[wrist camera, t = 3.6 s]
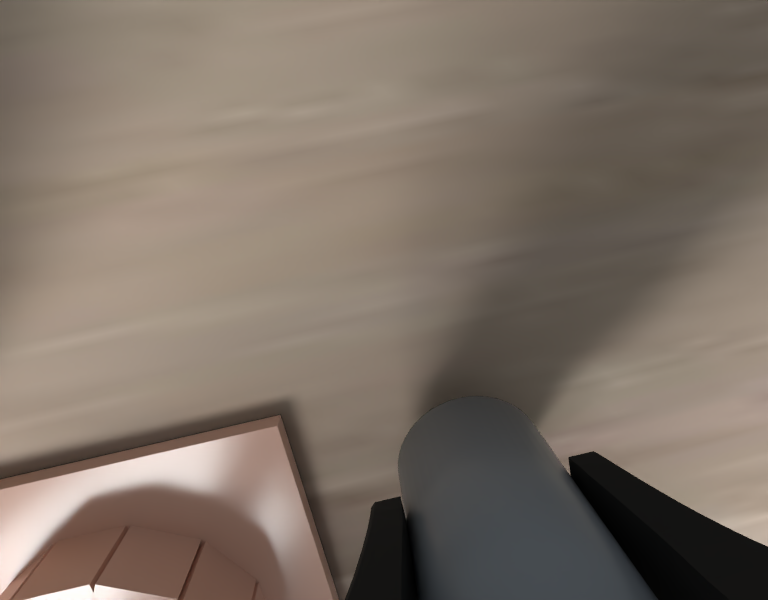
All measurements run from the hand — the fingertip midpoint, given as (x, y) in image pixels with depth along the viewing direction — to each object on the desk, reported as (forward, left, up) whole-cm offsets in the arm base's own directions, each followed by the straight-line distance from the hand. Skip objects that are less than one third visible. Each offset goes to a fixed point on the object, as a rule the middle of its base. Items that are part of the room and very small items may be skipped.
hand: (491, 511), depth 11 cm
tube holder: (-4, +11, -3) cm, 12 cm away
